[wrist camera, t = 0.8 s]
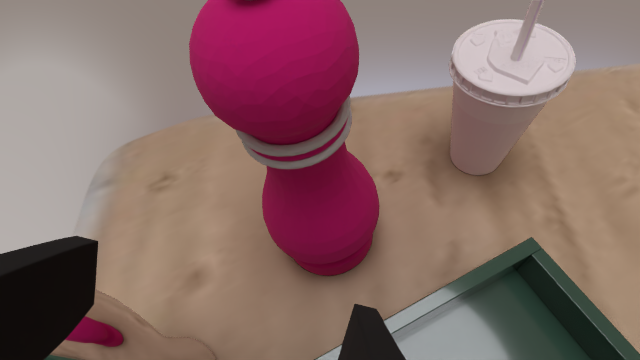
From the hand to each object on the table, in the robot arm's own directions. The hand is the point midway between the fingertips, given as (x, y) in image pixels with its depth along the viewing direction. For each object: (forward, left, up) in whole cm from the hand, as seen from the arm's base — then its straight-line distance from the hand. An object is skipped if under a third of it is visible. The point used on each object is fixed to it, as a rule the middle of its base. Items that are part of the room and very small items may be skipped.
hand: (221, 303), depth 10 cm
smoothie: (+7, -18, -15) cm, 24 cm away
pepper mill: (+7, -5, -15) cm, 17 cm away
